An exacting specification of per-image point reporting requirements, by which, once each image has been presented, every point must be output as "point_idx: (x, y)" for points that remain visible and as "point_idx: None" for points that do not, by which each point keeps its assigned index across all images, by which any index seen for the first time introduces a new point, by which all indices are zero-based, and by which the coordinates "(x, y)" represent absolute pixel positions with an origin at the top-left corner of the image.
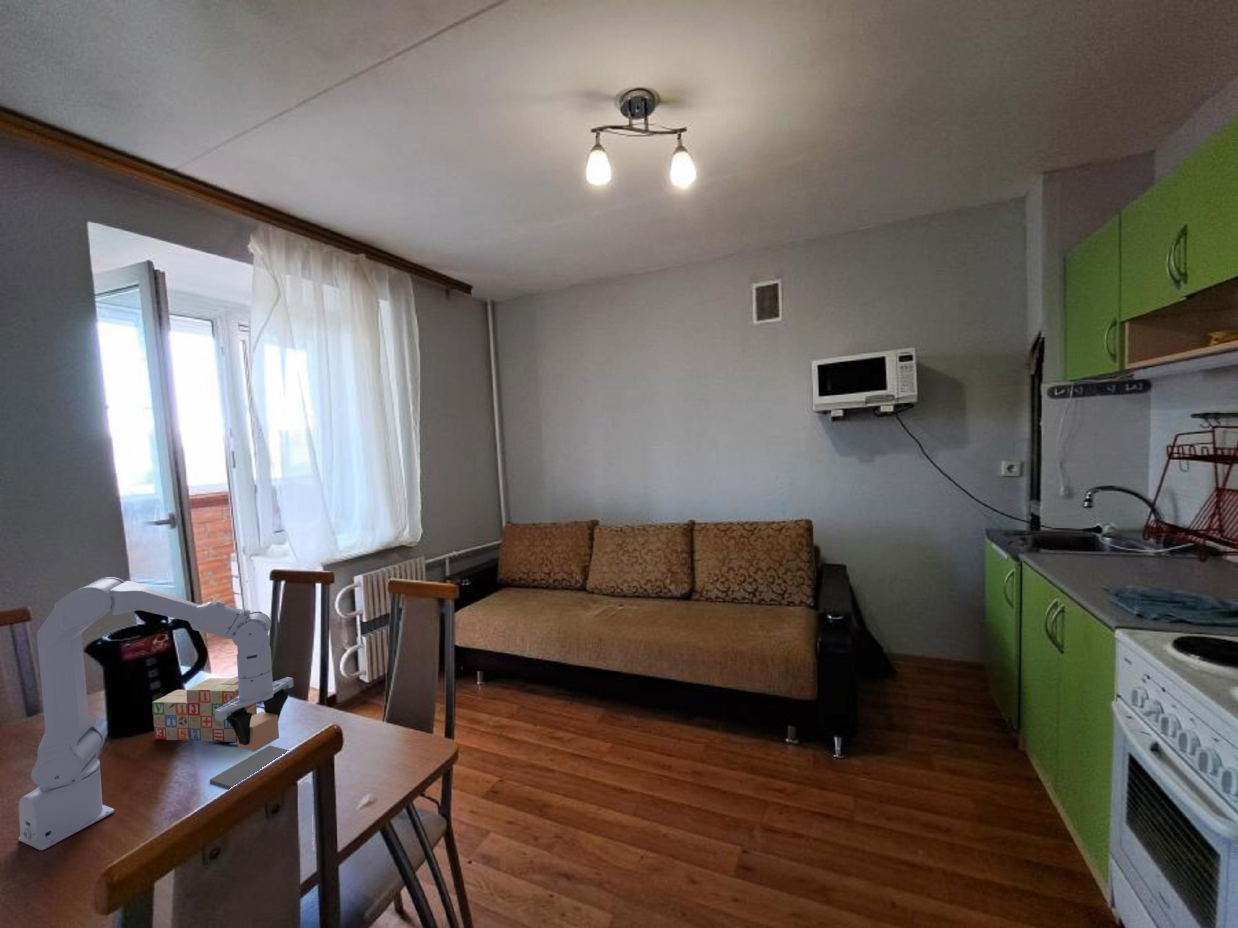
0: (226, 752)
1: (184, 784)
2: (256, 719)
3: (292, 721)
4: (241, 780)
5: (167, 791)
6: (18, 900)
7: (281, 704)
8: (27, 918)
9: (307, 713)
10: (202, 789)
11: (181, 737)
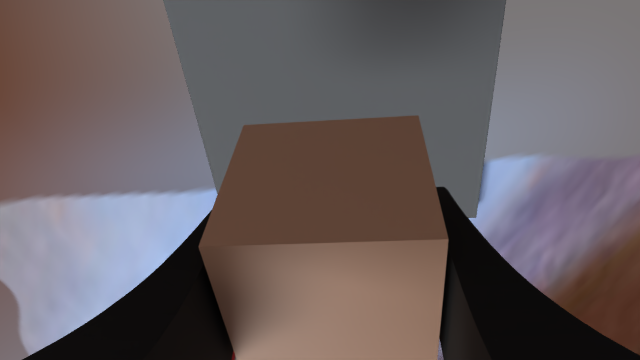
0: None
1: None
2: (337, 323)
3: (94, 296)
4: (444, 86)
5: (546, 282)
6: None
7: (120, 322)
8: None
9: (33, 296)
10: (515, 191)
11: None
